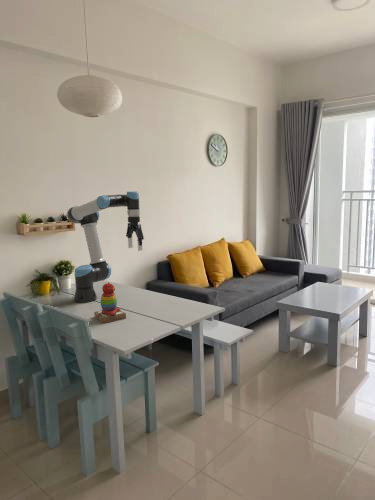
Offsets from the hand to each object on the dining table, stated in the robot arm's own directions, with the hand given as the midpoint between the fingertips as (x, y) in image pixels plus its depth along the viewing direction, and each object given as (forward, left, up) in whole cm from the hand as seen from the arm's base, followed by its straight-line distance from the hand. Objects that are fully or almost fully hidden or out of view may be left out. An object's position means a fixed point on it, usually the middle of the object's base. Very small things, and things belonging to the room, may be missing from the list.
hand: (135, 249), depth 246 cm
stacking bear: (+13, -25, -34) cm, 44 cm away
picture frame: (+13, -25, -37) cm, 46 cm away
